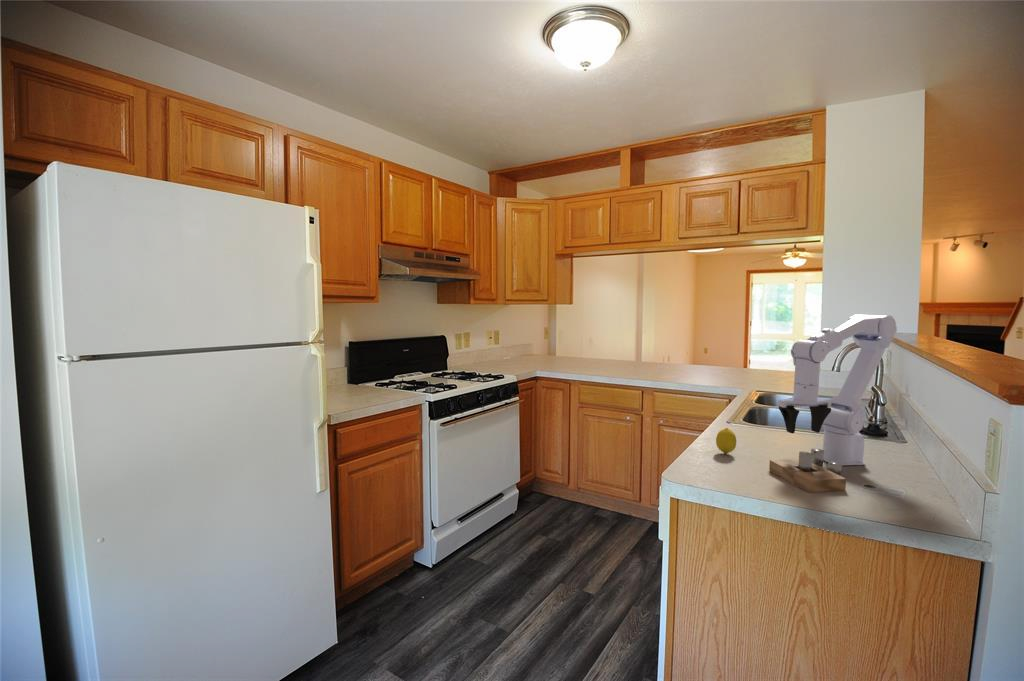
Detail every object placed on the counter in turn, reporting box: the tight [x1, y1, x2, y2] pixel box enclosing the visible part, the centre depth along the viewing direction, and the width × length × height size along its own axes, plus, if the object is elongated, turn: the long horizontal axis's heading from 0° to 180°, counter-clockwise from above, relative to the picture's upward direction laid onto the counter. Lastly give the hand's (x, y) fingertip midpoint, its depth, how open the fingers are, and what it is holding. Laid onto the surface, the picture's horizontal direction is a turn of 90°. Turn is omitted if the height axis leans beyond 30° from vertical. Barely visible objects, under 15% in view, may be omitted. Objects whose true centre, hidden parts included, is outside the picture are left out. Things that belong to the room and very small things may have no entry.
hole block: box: [768, 458, 847, 493], centre depth 119 cm, size 10×14×3 cm
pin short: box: [827, 461, 843, 476], centre depth 122 cm, size 3×3×4 cm
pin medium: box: [810, 447, 824, 468], centre depth 128 cm, size 3×3×5 cm
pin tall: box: [798, 450, 813, 472], centre depth 119 cm, size 3×3×7 cm
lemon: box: [715, 427, 737, 455], centre depth 138 cm, size 6×6×8 cm
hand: (802, 432), depth 128 cm, fingers open, 7 cm apart
